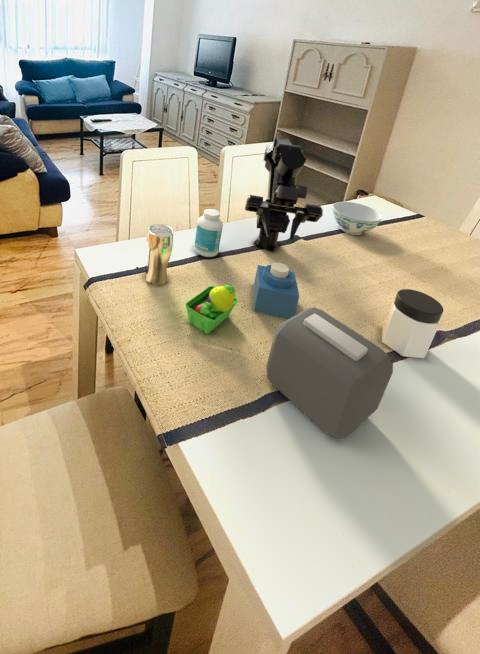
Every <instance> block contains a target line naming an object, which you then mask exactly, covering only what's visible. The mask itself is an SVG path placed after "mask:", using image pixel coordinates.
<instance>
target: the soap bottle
mask: <svg viewBox="0 0 480 654" xmlns="http://www.w3.org/2000/svg"><path fill="white" fill-rule="evenodd" d="M271 266H272V264H267V265H261V264H257V267H256V271H255V276H254V281H253V286H252V293H253V311H254V312H257V313H262V314H266V315H270V316H275V317H279V318H283V319H286V320H288V319H290V318H291V317H293V316H295V315H296V314H295V313H296V310H297V306H298V302H299V299H300V292H299V287H298V281H297V277H296V273H295V271H292V270H290V269H289V272H288V276H287V278H284V279H282V278H277V277H275V276H273V275H272V274H271V273H270V270H271Z"/></svg>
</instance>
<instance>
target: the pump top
mask: <svg viewBox="0 0 480 654" xmlns="http://www.w3.org/2000/svg"><path fill="white" fill-rule="evenodd" d="M271 265H272V266H271V270H270V273H271V274H272V275H273V276H275V277H277V278H282V279H284V278H287V276H288V272H289V270H290V268H289V266H288V265H286V264H284V263H282V262H273V263H271Z"/></svg>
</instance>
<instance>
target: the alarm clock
mask: <svg viewBox="0 0 480 654" xmlns="http://www.w3.org/2000/svg"><path fill="white" fill-rule="evenodd" d="M265 369H266V377H267V379H268V380H269V382H270V383H271V384H272V385H273V386H274V387H275V388H276V389H277V390H278V391H279V392H280V393H281V394H282V395H283V396H285V398H287V399H288V400H289V401H290V402H292V403H293V404H294V405H295V406H296V407H297V408H298V409H299V410H300V411H301V412H303V413H304V414H305V415H306V416H307V417H308V418H309V419H310V420H311V421H313V423H315V424H316V425H317V426H318V427H319V428H320V429H321V430H323V432H325V433H327V434H329V435H330V436H331V437H333V438H338V439H344V438H347V437H349V436H350V435H351V434H352V433H353V432H354V431H355V430H357V429H358V428H359V427H360V426H361V425H362V424H363V423H364V422H365V421H366V420H367V419H368V418H369V417H370V416H372V415H373V414H374V413H375V412H376V411H377V410H378V409H379V406H380V404H381V402H382V399H383V397H384V395H385V392H386V389H387V387H388V385H389V382H390V380H391V377H392V375H393V371H394V363H393V361H392V359H391V357H390V355H389V354H388V353H386V352H385V351H384V350H383V349H382V347H380V346H378V345H377V344H375V343H374V342H372V341H371V340H369V339H367V338H366V337H365V336H363V335H361V334H360V333H358V332H357V331H355V330H354V329H352V328H351V327H349V326H347V325H346V324H344V323H343V322H341V321H339V320H338V319H337V318H335V317H334V316H333V315H330V314H329V313H327V312H326V311H324V310H322V309H320V308H317V307H315V306H312V307H308V308H306V309H304V310H303V311H300V312H299V313H297V314H294V316H293V317H291V318H290V319H286V320H284V321H282V322H281V323H280V324H279V325H278V326H277V328H276V329H275V331H274V335H273V338H272V342H271V346H270V350H269V354H268V358H267V363H266V366H265Z"/></svg>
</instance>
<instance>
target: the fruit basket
mask: <svg viewBox="0 0 480 654" xmlns="http://www.w3.org/2000/svg"><path fill="white" fill-rule="evenodd" d="M237 303H238V299H237V298H236V288H234V286H233V285H230V284H225V285H218V286H214V285H209V286H208V287H206V288H205V289H204V290H203V291H201V292H200V293H198V294H197V295H195V296H194V297H192V298H191V299H190V300H189V301H187V302H185V309H186V311H187V316H188V322H189V324H191V325H193V326H194V327H195V328H197V329H198V330H200V331H201V332H204V333H205V334H206V335H209V334H210V333H212V331H213V330H215V329H216V328H218V326H219V325H221V324H222V322H224V320H226V319H227V318H228V317H229V316H230V314H231V313H232V310H234V308H235V306H236V305H237Z"/></svg>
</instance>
